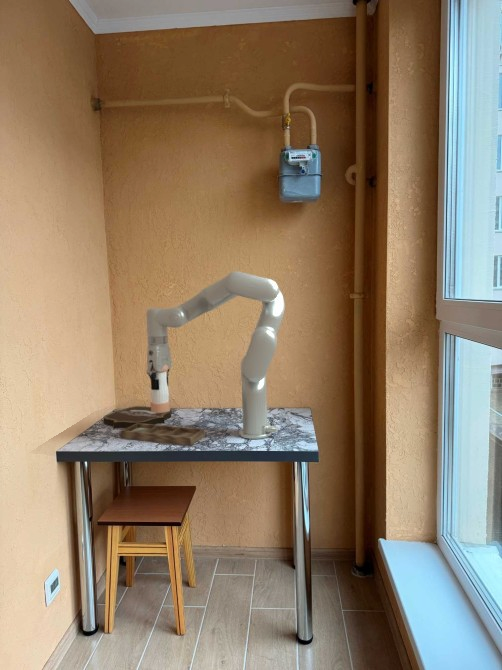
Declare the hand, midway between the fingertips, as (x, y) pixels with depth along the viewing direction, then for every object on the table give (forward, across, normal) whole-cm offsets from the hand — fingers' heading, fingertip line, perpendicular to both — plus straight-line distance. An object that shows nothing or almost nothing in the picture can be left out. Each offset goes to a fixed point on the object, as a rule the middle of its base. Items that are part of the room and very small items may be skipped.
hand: (159, 387), depth 177 cm
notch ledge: (+20, 0, 0) cm, 20 cm away
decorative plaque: (+20, +19, +25) cm, 37 cm away
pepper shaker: (+9, 0, 0) cm, 9 cm away
